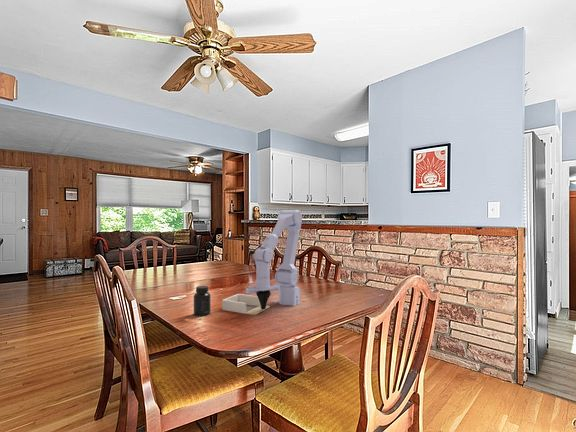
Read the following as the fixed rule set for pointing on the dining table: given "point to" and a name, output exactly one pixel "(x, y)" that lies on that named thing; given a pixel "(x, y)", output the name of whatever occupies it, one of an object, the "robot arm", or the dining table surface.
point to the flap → (257, 310)
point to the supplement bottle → (202, 301)
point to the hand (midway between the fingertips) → (263, 308)
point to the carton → (241, 303)
